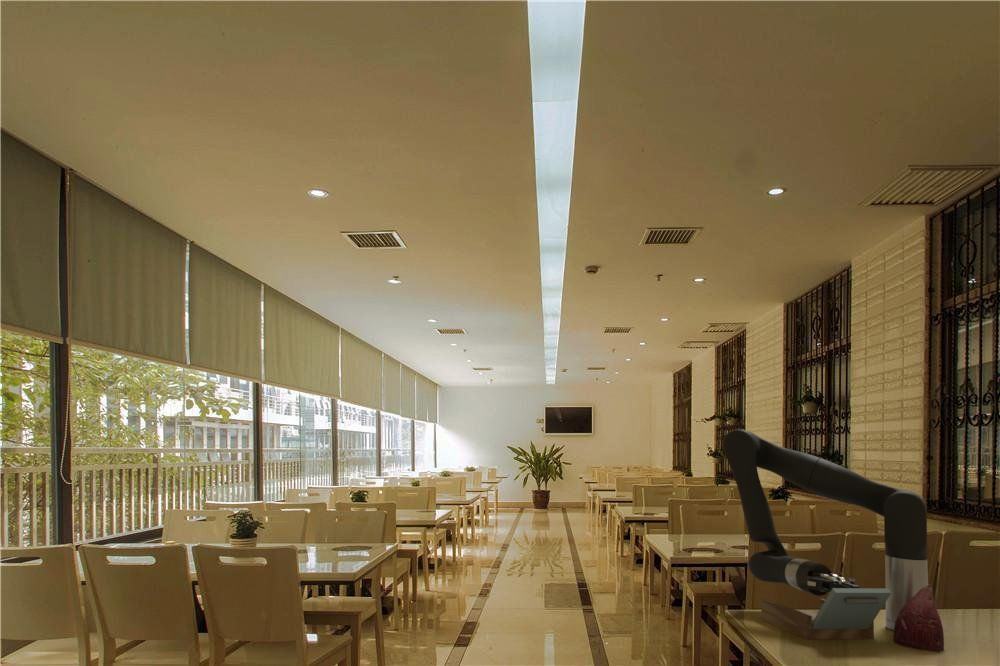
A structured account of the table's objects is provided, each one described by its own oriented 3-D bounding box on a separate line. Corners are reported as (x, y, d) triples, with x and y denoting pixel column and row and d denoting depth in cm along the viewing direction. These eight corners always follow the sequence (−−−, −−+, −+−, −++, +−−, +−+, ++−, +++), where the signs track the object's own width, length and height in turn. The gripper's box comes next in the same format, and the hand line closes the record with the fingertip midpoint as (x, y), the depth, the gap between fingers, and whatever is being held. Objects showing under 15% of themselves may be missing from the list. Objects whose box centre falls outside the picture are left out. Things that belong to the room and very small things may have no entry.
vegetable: (930, 655, 180) (942, 590, 183) (951, 662, 170) (963, 593, 173) (883, 639, 181) (896, 575, 185) (901, 645, 171) (914, 577, 175)
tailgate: (865, 624, 180) (888, 588, 174) (871, 633, 178) (895, 597, 172) (810, 625, 177) (832, 588, 171) (816, 634, 175) (838, 597, 169)
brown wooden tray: (823, 619, 197) (823, 598, 197) (873, 638, 179) (873, 615, 180) (761, 619, 193) (761, 598, 193) (806, 639, 175) (806, 616, 176)
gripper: (784, 560, 189) (831, 573, 172) (832, 561, 192) (882, 574, 176) (784, 591, 188) (830, 608, 171) (831, 592, 191) (882, 608, 175)
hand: (856, 591), depth 174 cm, fingers closed
